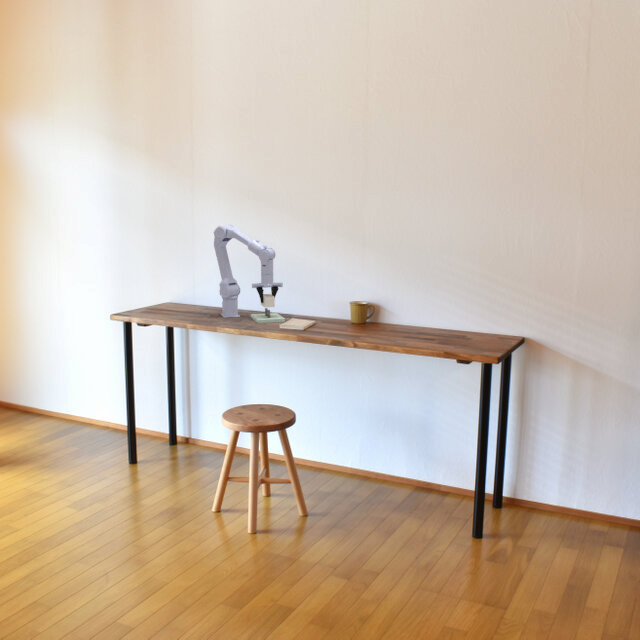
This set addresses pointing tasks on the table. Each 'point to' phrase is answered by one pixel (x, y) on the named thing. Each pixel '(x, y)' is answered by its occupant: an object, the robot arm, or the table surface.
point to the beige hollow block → (268, 300)
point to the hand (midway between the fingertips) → (267, 302)
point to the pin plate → (267, 317)
